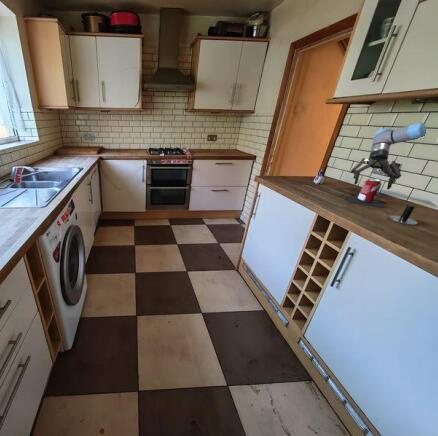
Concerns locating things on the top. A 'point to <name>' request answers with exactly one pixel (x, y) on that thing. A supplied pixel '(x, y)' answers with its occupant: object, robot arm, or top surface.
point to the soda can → (369, 190)
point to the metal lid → (405, 217)
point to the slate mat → (374, 203)
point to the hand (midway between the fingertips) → (372, 185)
